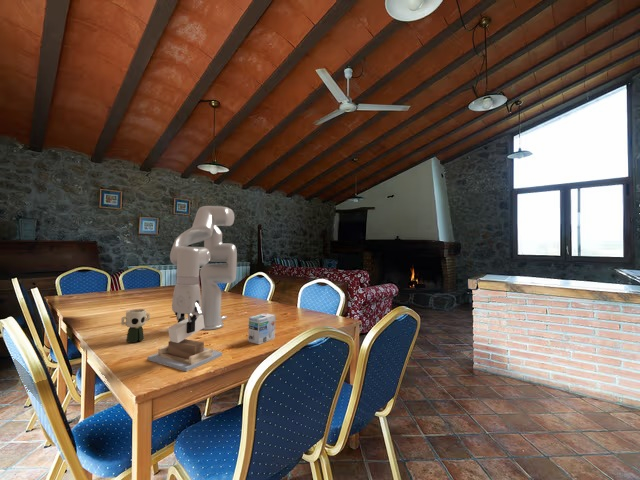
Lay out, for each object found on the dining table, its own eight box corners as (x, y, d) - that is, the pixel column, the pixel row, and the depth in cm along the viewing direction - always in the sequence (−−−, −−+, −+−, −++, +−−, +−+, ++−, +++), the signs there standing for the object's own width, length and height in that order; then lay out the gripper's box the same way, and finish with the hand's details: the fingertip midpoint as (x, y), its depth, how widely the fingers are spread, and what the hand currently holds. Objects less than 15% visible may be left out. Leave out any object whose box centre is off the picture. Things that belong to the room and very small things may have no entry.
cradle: (180, 347, 115) (180, 341, 115) (212, 355, 108) (212, 349, 108) (158, 355, 106) (158, 348, 106) (191, 365, 99) (191, 357, 99)
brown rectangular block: (177, 351, 111) (178, 338, 111) (203, 355, 107) (203, 342, 107) (168, 355, 107) (168, 341, 107) (194, 360, 103) (194, 346, 103)
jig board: (185, 346, 120) (185, 343, 120) (222, 355, 111) (222, 352, 111) (147, 359, 105) (147, 356, 105) (186, 371, 97) (186, 367, 97)
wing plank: (197, 325, 114) (195, 313, 113) (204, 327, 112) (203, 315, 111) (170, 341, 103) (167, 327, 102) (178, 342, 102) (175, 329, 101)
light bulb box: (258, 345, 124) (259, 319, 124) (247, 341, 127) (248, 317, 128) (275, 338, 133) (276, 314, 133) (264, 335, 136) (265, 312, 137)
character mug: (124, 346, 118) (125, 314, 118) (117, 342, 122) (118, 311, 122) (152, 339, 127) (153, 309, 127) (144, 336, 131) (145, 307, 131)
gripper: (163, 280, 108) (161, 330, 107) (195, 283, 100) (194, 337, 100) (180, 278, 114) (179, 325, 114) (212, 281, 107) (210, 332, 107)
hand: (186, 330), depth 107 cm, fingers closed on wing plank, 4 cm apart
